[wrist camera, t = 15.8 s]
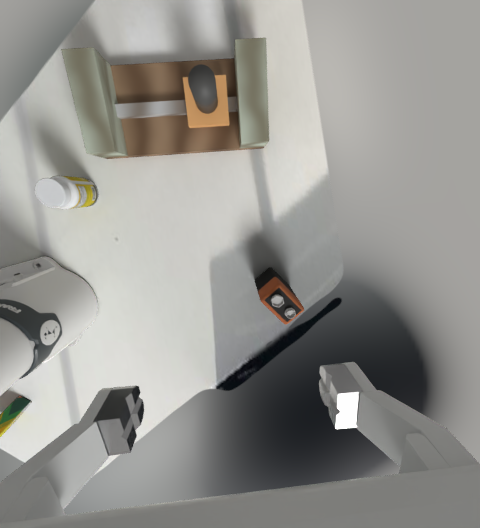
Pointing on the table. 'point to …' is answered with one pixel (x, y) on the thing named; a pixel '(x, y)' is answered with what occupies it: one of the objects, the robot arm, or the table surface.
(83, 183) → the supplement bottle
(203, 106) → the carriage
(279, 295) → the battery
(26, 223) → the table surface
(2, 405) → the table surface
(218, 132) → the rail board
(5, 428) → the crayon box
